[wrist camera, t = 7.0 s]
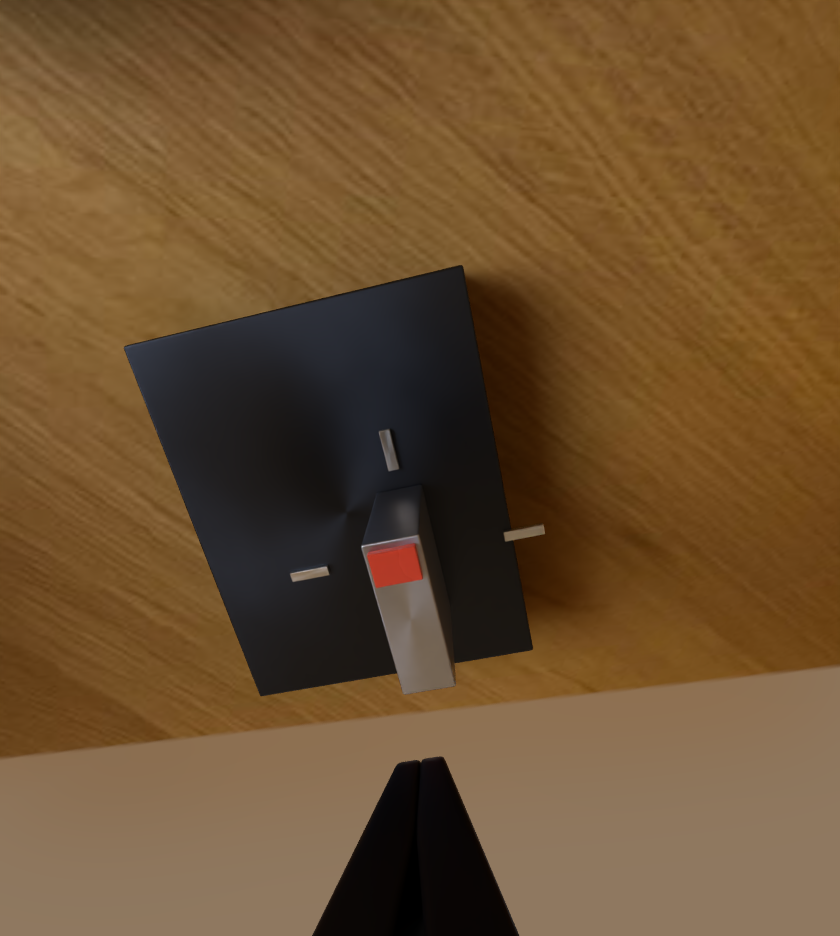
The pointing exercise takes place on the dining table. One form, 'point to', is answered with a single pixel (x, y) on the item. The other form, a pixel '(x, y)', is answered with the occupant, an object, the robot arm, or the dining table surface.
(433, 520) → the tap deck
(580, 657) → the dining table surface
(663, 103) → the dining table surface
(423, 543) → the grey rectangular block
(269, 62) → the dining table surface
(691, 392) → the dining table surface
